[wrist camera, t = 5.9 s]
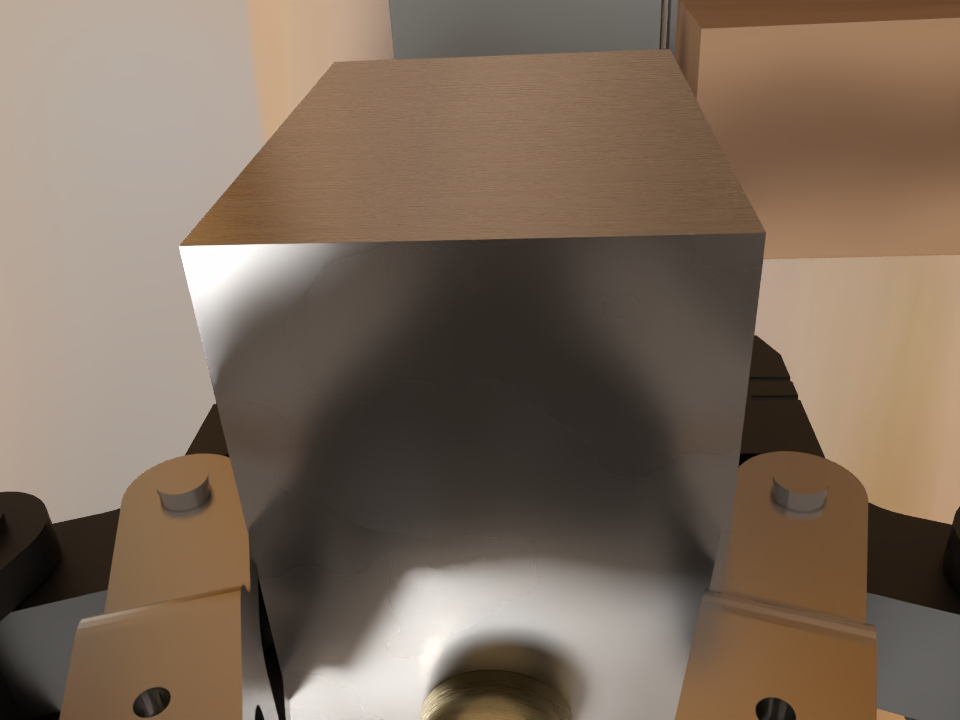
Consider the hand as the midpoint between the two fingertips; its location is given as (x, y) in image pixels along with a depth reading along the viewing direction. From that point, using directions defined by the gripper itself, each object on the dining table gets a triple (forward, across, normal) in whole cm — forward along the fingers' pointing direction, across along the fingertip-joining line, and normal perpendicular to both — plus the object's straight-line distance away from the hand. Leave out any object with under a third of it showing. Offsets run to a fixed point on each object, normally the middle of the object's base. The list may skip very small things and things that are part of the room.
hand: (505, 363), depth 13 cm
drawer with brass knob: (+1, 0, 0) cm, 1 cm away
